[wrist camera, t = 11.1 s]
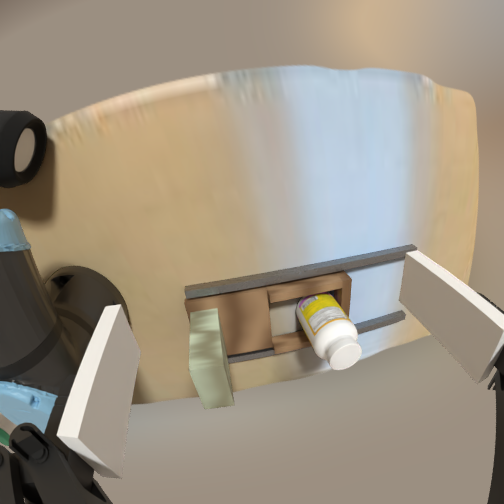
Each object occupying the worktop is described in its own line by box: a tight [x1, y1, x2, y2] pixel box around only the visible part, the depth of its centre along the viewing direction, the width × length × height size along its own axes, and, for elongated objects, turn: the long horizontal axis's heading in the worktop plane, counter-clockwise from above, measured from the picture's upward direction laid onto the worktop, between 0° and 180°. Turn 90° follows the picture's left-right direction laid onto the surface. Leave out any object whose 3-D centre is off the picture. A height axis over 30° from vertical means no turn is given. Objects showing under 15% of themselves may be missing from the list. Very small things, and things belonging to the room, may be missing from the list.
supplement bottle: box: [296, 291, 362, 370], centre depth 40 cm, size 7×7×13 cm
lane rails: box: [185, 244, 417, 363], centre depth 45 cm, size 38×15×2 cm, turn 97°
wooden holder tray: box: [185, 270, 352, 409], centre depth 39 cm, size 24×11×13 cm, turn 96°
